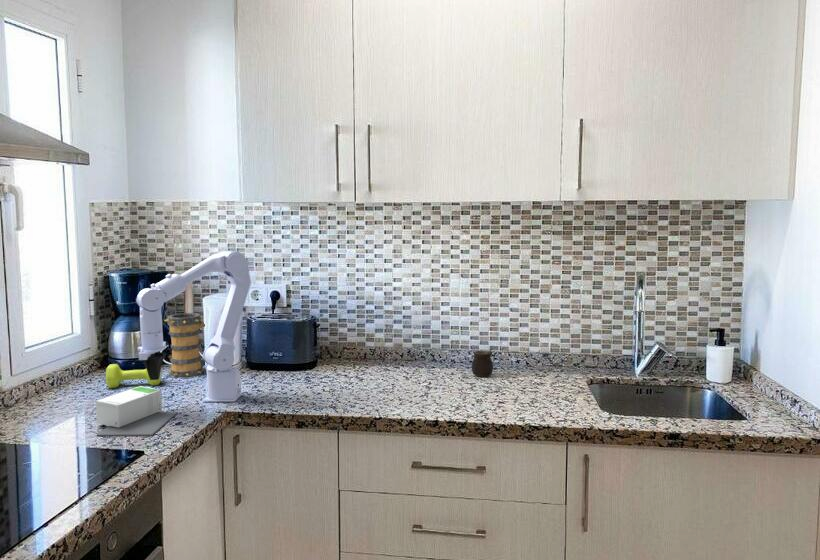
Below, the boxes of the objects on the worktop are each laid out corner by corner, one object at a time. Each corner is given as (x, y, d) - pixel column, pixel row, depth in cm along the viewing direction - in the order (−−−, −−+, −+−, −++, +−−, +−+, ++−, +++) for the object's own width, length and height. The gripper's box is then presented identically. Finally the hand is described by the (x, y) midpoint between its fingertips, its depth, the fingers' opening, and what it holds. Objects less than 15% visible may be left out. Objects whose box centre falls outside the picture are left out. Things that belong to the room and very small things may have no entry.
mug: (166, 370, 239) (163, 313, 236) (218, 366, 244) (215, 310, 242) (167, 380, 227) (163, 320, 224) (221, 374, 232) (218, 316, 230)
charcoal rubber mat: (177, 413, 192) (177, 411, 192) (152, 435, 174) (151, 434, 174) (127, 413, 192) (127, 412, 192) (96, 436, 174) (96, 434, 174)
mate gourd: (474, 372, 232) (474, 343, 231) (496, 373, 230) (496, 344, 229) (468, 377, 226) (468, 347, 224) (491, 379, 223) (491, 349, 222)
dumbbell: (163, 380, 226) (162, 359, 226) (160, 387, 219) (158, 365, 218) (110, 384, 223) (108, 362, 222) (104, 390, 215) (103, 368, 214)
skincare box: (162, 389, 192) (119, 404, 177) (162, 412, 192) (119, 429, 178) (139, 385, 195) (94, 399, 180) (139, 408, 196) (95, 424, 181)
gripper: (147, 326, 199) (150, 372, 201) (126, 337, 185) (129, 386, 187) (172, 326, 199) (174, 372, 201) (152, 336, 185) (155, 386, 186)
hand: (154, 379), depth 194 cm, fingers closed
